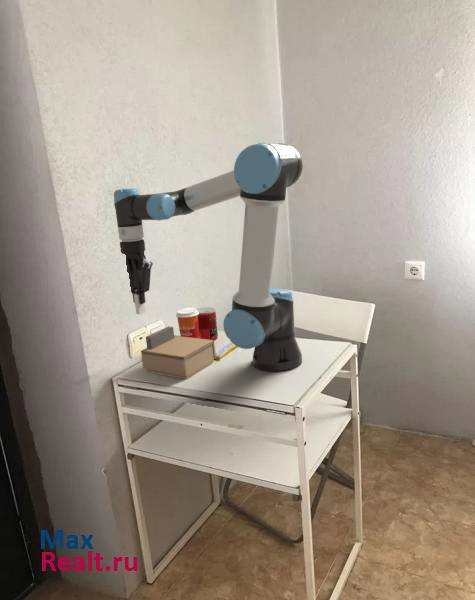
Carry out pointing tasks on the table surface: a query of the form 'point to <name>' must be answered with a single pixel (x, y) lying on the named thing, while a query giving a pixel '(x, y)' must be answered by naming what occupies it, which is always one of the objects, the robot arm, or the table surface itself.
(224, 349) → the candy bar
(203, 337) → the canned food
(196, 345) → the box lid
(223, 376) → the table surface
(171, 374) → the box
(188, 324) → the paper cup
